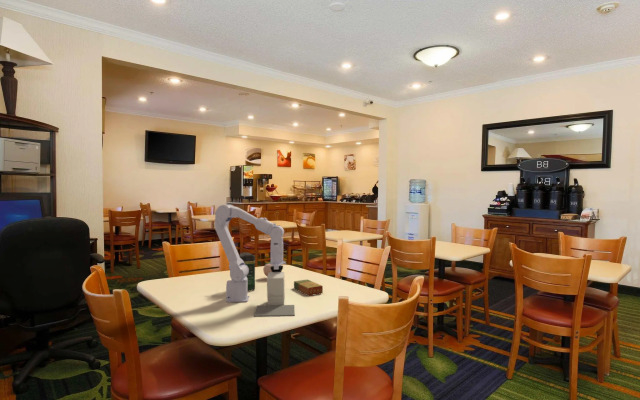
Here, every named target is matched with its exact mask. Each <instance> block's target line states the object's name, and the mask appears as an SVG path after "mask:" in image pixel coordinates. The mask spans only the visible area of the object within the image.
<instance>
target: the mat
mask: <svg viewBox="0 0 640 400" xmlns="http://www.w3.org/2000/svg"><path fill="white" fill-rule="evenodd" d="M295 310H296V309H295V304H284V305H268V304H266V305H260V304H259V305H256V308H255V311H254V314H253V317H295V315H296V313H295Z"/></svg>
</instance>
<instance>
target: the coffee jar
mask: <svg viewBox="0 0 640 400" xmlns="http://www.w3.org/2000/svg"><path fill="white" fill-rule="evenodd" d="M238 254H239V253H238ZM239 256H240V258H241V259H242V260H243V262H244V264H245V265H247V266H248V268H249V273H248V275H247V279H248V292H251V291H255V289H256V255H254V254H252V253H250V252H241V253H240V254H239Z"/></svg>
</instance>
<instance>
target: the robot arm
mask: <svg viewBox="0 0 640 400" xmlns="http://www.w3.org/2000/svg"><path fill="white" fill-rule="evenodd" d="M214 216H215V217H214V229H215V232H216V234H217V236H218V239H219V241H220V244H221V245H222V249H223V251H224V253H225V256H226V258H227V261H228V263H229V264H228V269H229V277H230V279H231V280H227V281H226V284H225V286H226V287H225V294H226V295H225V303H235V302H236V303H239V302H242V303H243V302H246V303H247V302H248V301H249V298H250V295H249V294H248V292H249V291H248V279H247V275H248V273H249V268H248V266H247V265H245V264H244V262H243V260H242V259H241V258H240V256H239V252H238V250H237V247H236V244H235V241H234V240H233V237H232V235H231V233H230V230H229V228H228V225H229V224H230V221H231V220H232V219H233V218H239V219H241V220H244V221H245V222H248V223H250V224H253V225H254V226H255V229H256V230H257V231H260V232H261V233H264V234H265V235H267V236H268V235H269V237H270V261H269V262H270V264H271V265H273V266H271V267H270V269H271V271H272V272H283V269H284V264H285V265H286V264H287V263H286V261H284V238H283V237H284V234H285V229H284V228H283V226H281V225H279V224H278V225H277V223H276V222H271V221H270V220H268V218H267V217H259V218H258V217H256V216H254V215H253V214H251V213H249V212H247V211H246V210H244V209H242V208H240V207H238V206H234V205H233V204H230V203H229V204H221V205H219V206H218V207H217V209H216V210H215V212H214Z"/></svg>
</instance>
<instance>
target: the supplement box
mask: <svg viewBox="0 0 640 400" xmlns="http://www.w3.org/2000/svg"><path fill="white" fill-rule="evenodd" d="M285 291H286V290H285V271H281V272H269V273H268V276H266V292H267V293H266V297H267V300H266V301H267V305H285V297H286V296H285V295H286V292H285Z"/></svg>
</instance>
